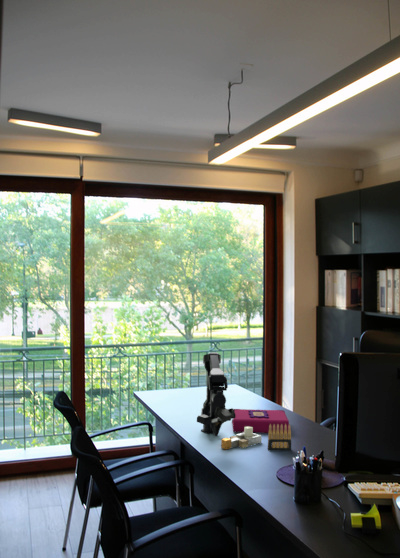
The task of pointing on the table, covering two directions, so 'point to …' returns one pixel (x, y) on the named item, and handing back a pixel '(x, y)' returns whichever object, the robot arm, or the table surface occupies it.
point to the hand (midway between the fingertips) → (216, 435)
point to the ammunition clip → (279, 438)
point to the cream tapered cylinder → (248, 432)
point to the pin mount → (241, 442)
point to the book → (259, 420)
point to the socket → (250, 438)
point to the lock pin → (229, 443)
